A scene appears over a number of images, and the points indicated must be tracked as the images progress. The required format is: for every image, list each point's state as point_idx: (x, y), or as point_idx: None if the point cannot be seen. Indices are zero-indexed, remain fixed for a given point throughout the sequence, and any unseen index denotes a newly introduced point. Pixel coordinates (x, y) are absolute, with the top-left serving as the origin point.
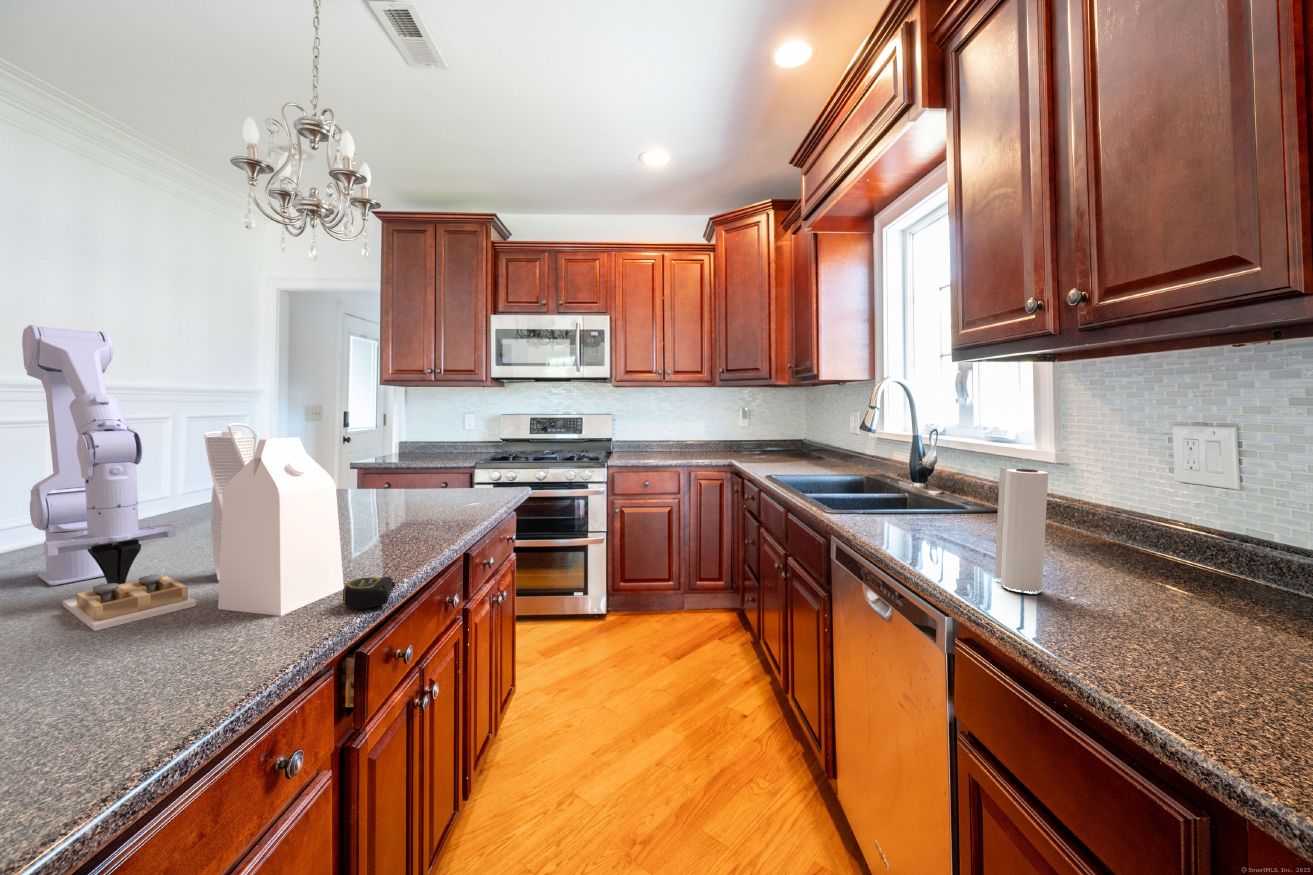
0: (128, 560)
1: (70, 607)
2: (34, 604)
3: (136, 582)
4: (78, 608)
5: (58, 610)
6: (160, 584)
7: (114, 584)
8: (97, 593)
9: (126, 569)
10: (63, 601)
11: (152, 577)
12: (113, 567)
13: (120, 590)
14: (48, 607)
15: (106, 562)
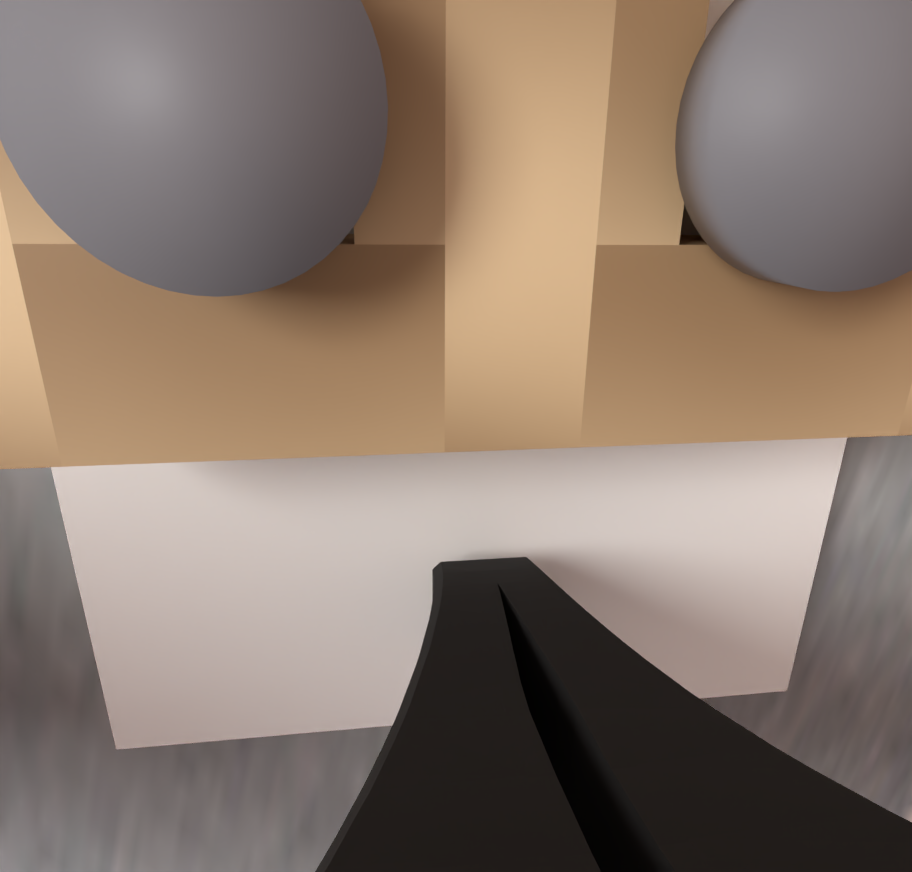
0: (439, 849)
1: None
2: None
3: (373, 356)
4: None
5: (825, 548)
6: None
7: (755, 109)
8: None
9: (445, 706)
10: (794, 654)
11: (158, 31)
12: (659, 746)
13: (661, 14)
14: (817, 682)
15: (876, 840)
